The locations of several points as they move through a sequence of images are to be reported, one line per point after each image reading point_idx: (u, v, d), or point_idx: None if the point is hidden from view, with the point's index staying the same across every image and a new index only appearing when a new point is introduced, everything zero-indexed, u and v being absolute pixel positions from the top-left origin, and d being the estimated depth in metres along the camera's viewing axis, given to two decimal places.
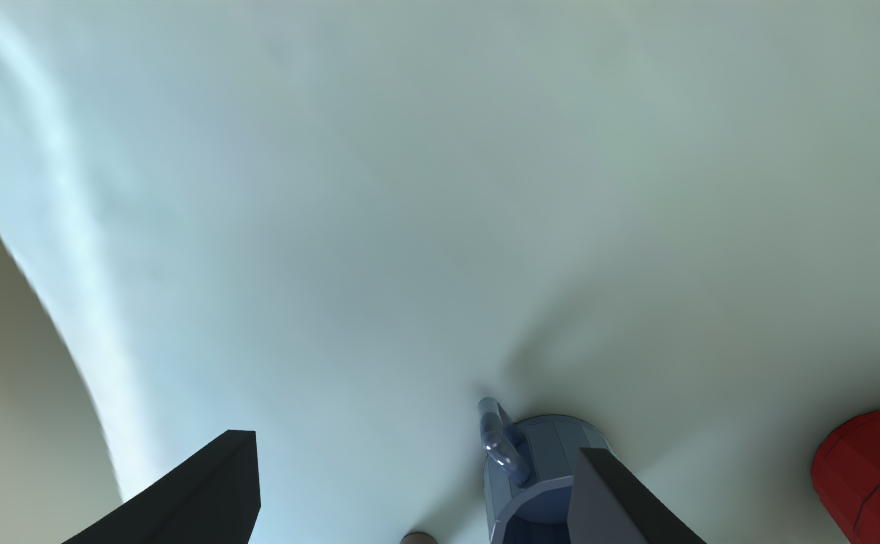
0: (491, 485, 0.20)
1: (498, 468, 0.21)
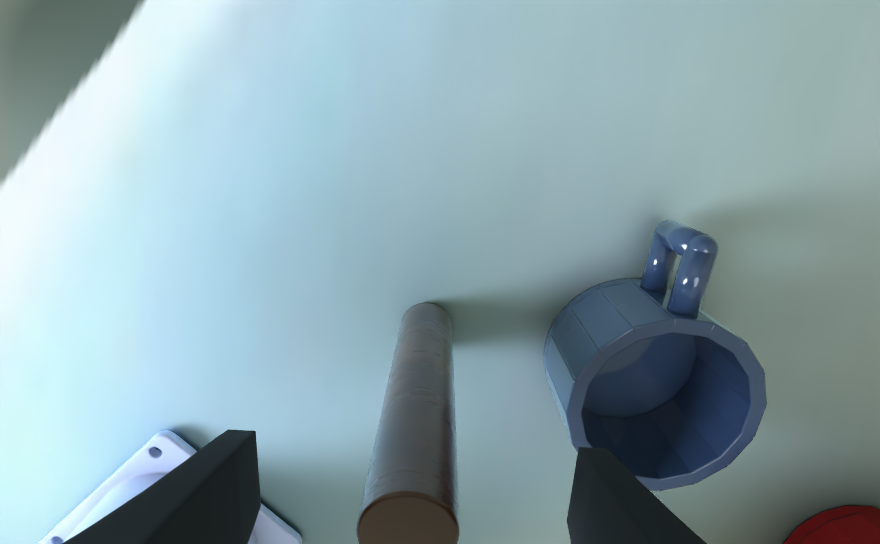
0: (614, 305, 0.16)
1: (629, 296, 0.16)
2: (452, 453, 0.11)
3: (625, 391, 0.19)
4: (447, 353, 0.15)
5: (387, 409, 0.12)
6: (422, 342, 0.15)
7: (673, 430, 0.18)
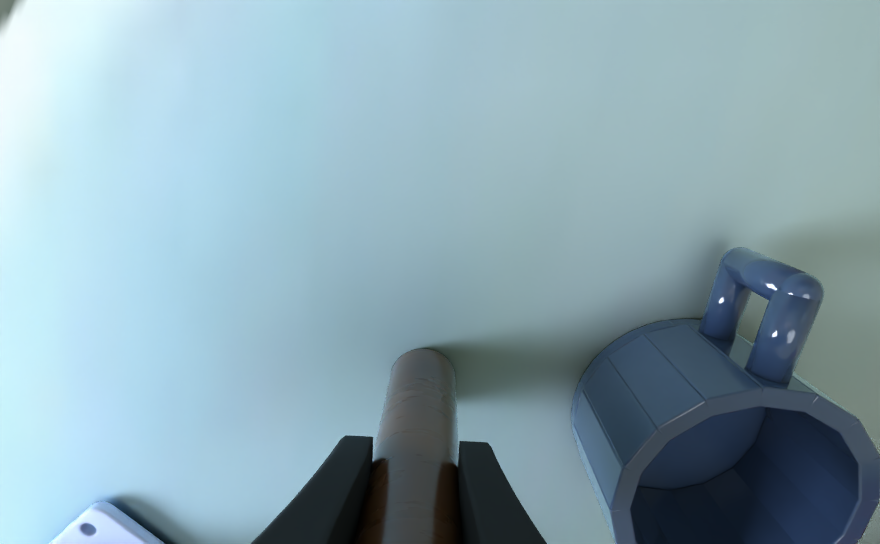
0: (670, 360, 0.12)
1: (688, 347, 0.13)
2: None
3: (674, 458, 0.15)
4: (450, 429, 0.11)
5: (362, 539, 0.08)
6: (416, 414, 0.11)
7: (739, 514, 0.14)
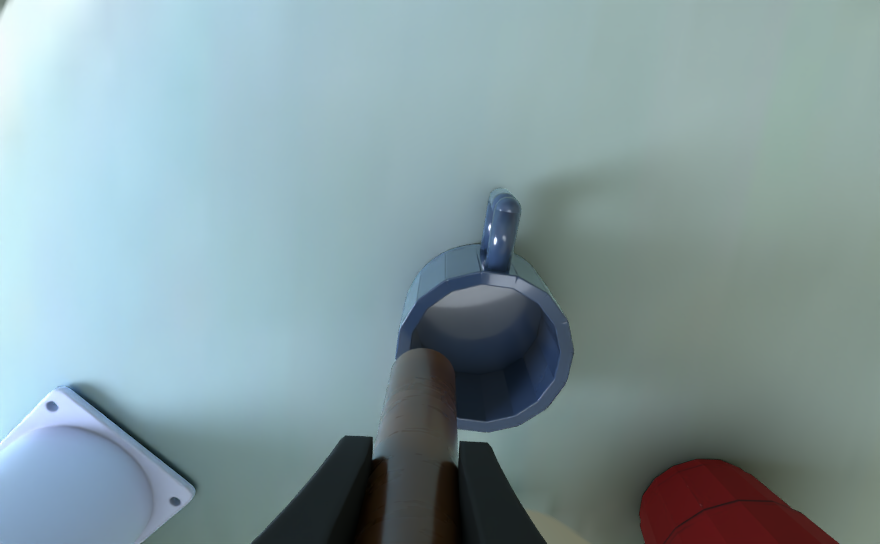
0: (446, 264, 0.18)
1: (463, 257, 0.18)
2: None
3: (480, 349, 0.21)
4: (449, 428, 0.11)
5: (362, 538, 0.08)
6: (416, 414, 0.11)
7: (514, 382, 0.20)
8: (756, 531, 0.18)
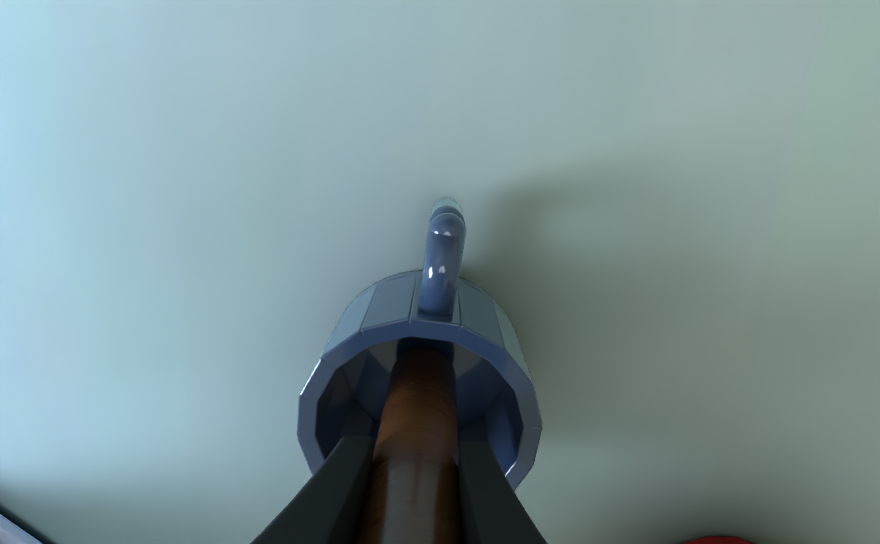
0: (372, 302, 0.13)
1: (395, 291, 0.14)
2: None
3: None
4: (450, 428, 0.11)
5: (363, 539, 0.08)
6: (417, 414, 0.11)
7: None
8: None
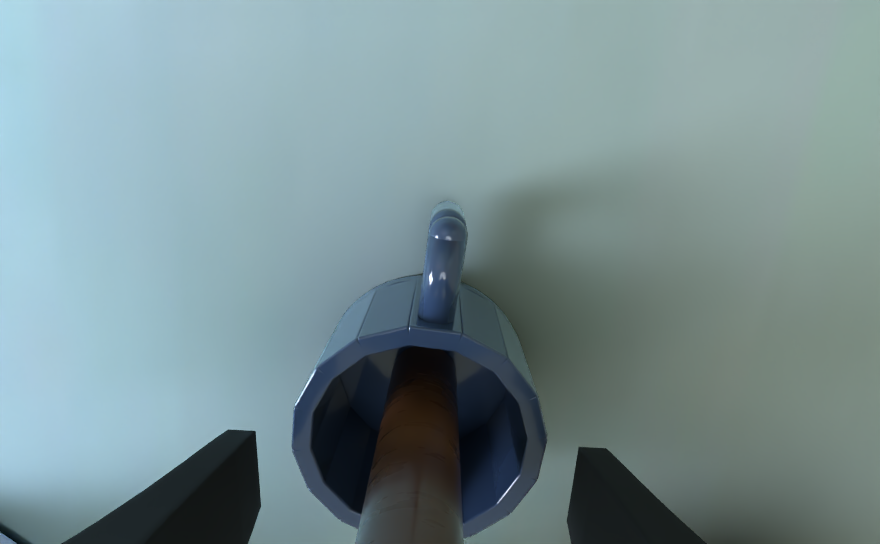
0: (370, 308, 0.13)
1: (394, 297, 0.13)
2: None
3: None
4: (451, 422, 0.12)
5: (366, 528, 0.08)
6: (418, 408, 0.11)
7: (471, 464, 0.14)
8: None
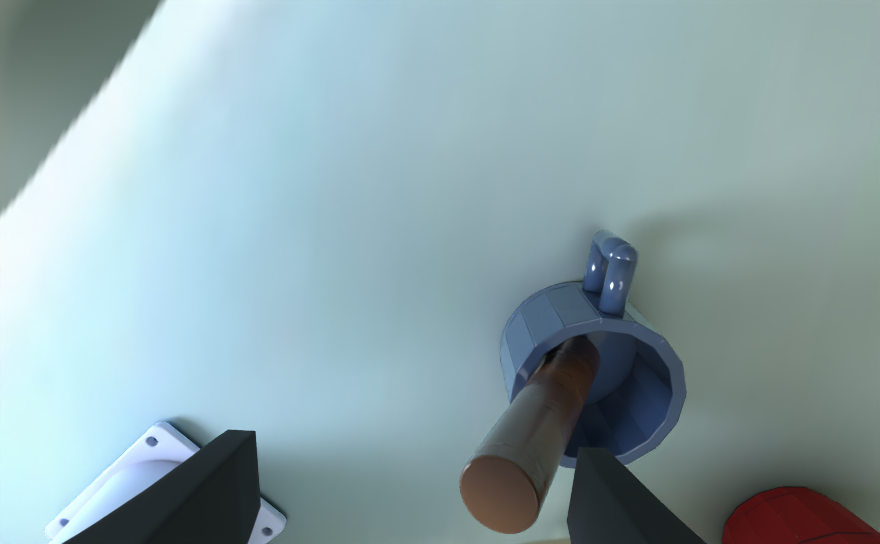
0: (554, 306, 0.18)
1: (569, 298, 0.19)
2: (553, 449, 0.13)
3: None
4: (581, 378, 0.17)
5: (510, 405, 0.14)
6: (559, 363, 0.17)
7: (614, 418, 0.20)
8: None
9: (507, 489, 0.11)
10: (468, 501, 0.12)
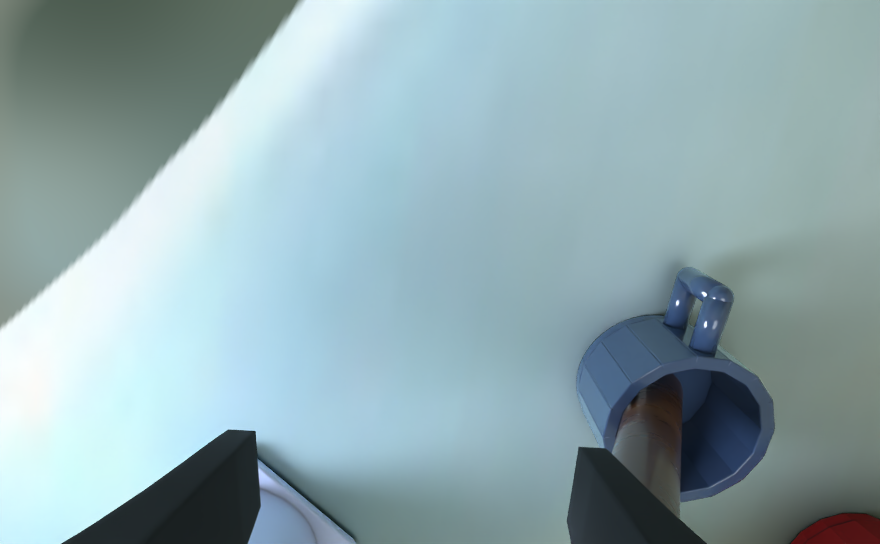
0: (642, 341, 0.19)
1: (655, 333, 0.19)
2: (676, 489, 0.13)
3: None
4: (677, 414, 0.17)
5: (620, 443, 0.15)
6: (654, 398, 0.17)
7: (692, 448, 0.20)
8: None
9: None
10: None
